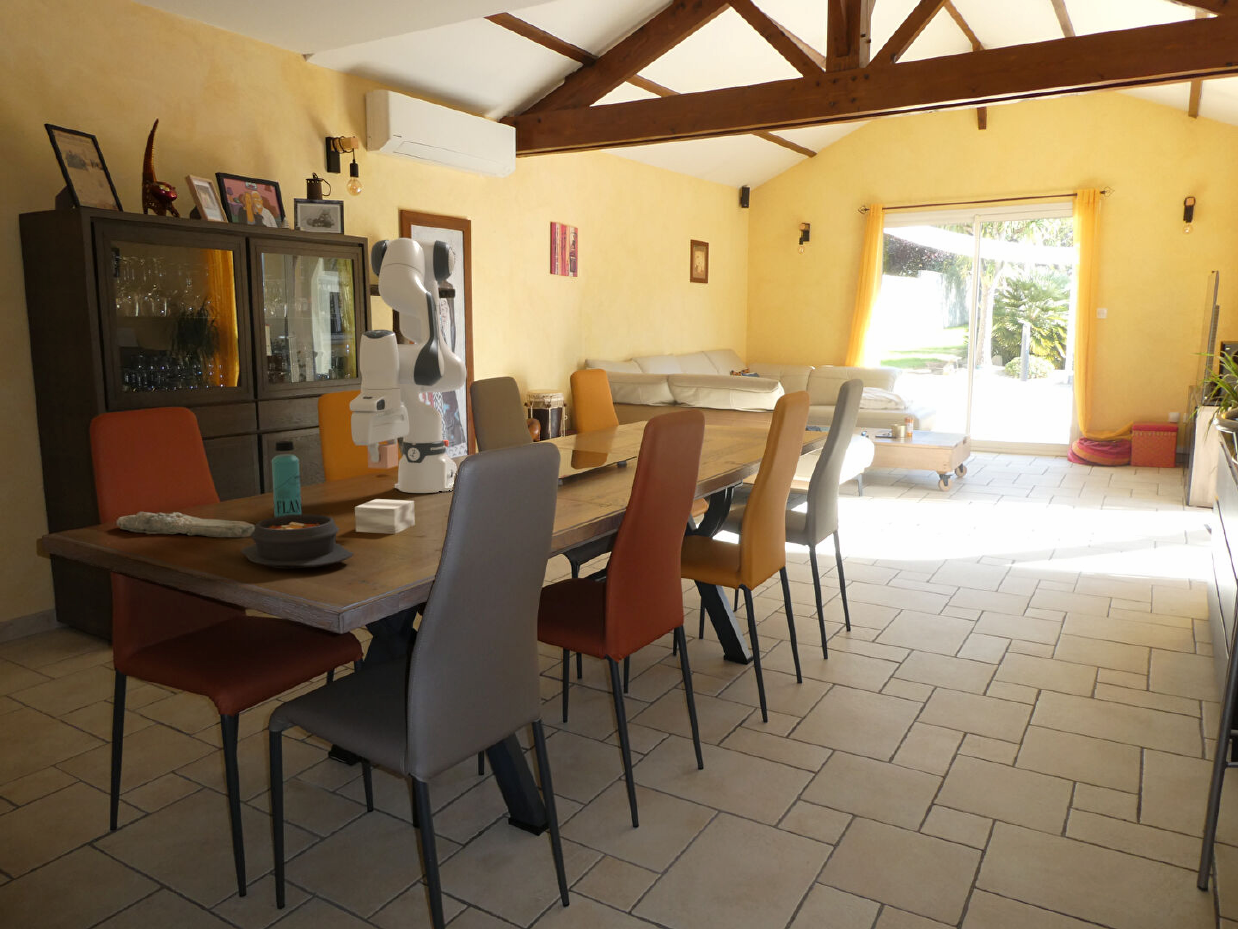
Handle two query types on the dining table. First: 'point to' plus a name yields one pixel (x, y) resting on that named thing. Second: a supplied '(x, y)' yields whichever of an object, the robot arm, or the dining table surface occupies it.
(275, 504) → the beverage bottle
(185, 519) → the long grey stone
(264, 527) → the casserole
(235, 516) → the dining table surface
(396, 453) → the terracotta block
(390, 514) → the base block
